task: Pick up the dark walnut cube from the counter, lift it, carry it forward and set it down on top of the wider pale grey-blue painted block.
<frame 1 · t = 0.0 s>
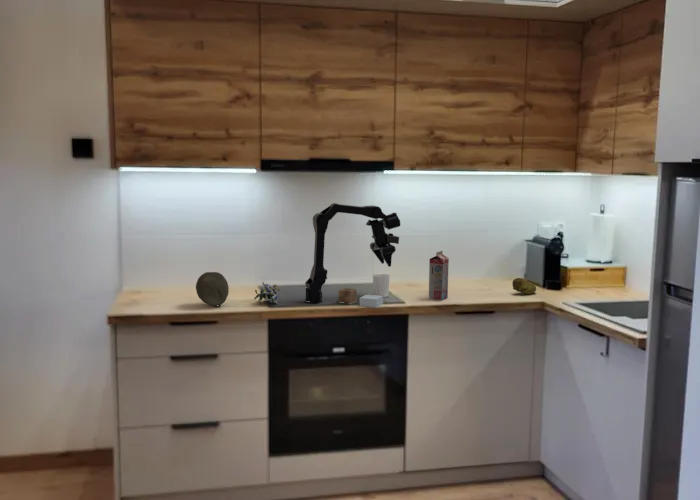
hand: (386, 264, 305), 15 cm above the countertop, tool pointing down, fingers open, 9 cm apart
walnut cube: (347, 302, 296), on the countertop
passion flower: (267, 304, 293), on the countertop
riser block: (371, 305, 291), on the countertop
white cup: (380, 296, 311), on the countertop
juice carton: (438, 299, 306), on the countertop
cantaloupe: (212, 306, 287), on the countertop
potato: (524, 294, 318), on the countertop
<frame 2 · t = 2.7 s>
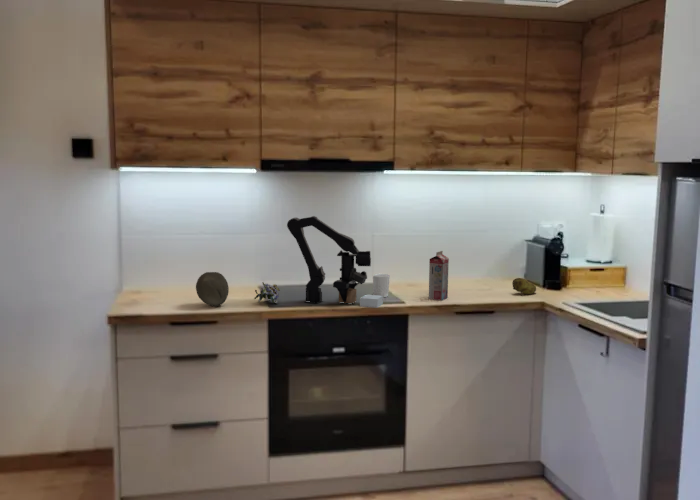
hand: (347, 300, 296), 1 cm above the countertop, tool pointing down, fingers closed on walnut cube, 6 cm apart
walnut cube: (347, 302, 296), on the countertop, touching gripper
everything else where it was.
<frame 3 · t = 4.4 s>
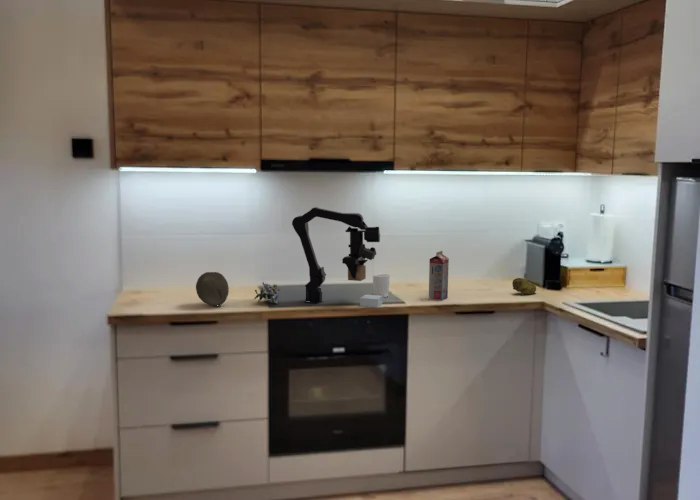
hand: (356, 277, 293), 12 cm above the countertop, tool pointing down, fingers closed on walnut cube, 6 cm apart
walnut cube: (356, 279, 293), point 11 cm above the countertop, touching gripper
everything else where it was.
when the fingers open (6 cm above the countertop, at t = 6.3 s): walnut cube drops 1 cm, resting on riser block.
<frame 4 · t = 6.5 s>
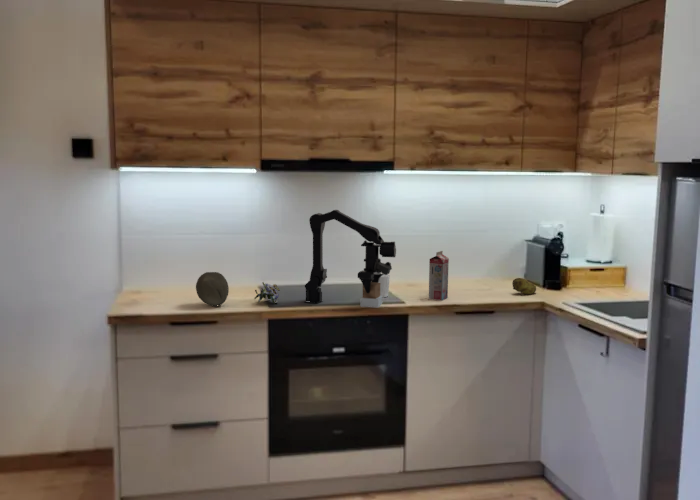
hand: (371, 291, 291), 6 cm above the countertop, tool pointing down, fingers open, 8 cm apart
walnut cube: (371, 296, 291), point 4 cm above the countertop, touching riser block
riser block: (371, 305, 291), on the countertop, touching walnut cube
everything else where it was.
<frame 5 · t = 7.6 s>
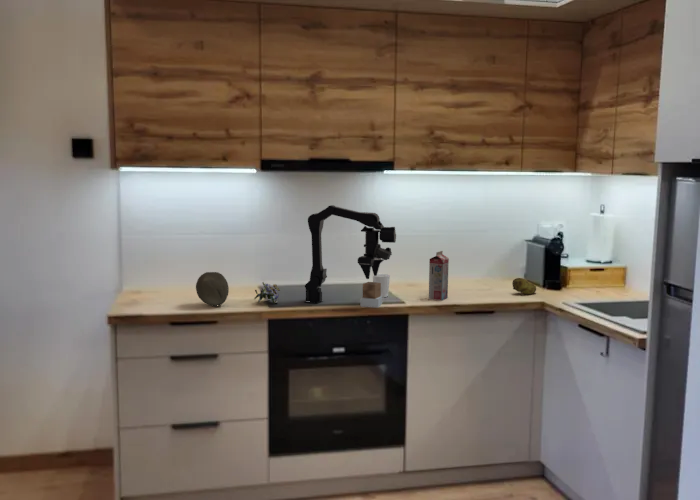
hand: (371, 277, 290), 12 cm above the countertop, tool pointing down, fingers open, 9 cm apart
walnut cube: (371, 296, 291), point 4 cm above the countertop
riser block: (371, 305, 291), on the countertop
everything else where it was.
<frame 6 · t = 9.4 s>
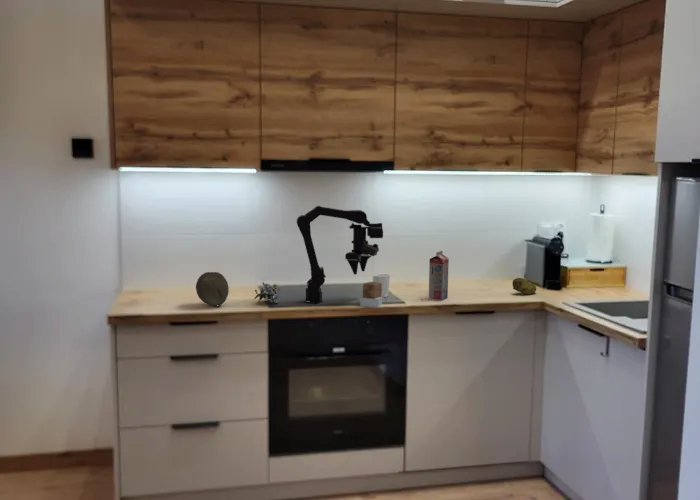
hand: (359, 272, 297), 13 cm above the countertop, tool pointing down, fingers open, 9 cm apart
nothing on the countertop moved.
at the end: walnut cube 0.2 cm off-centre on the riser block, point 4.0 cm above the riser block's base; walnut cube tilted 0°; the gripper is holding nothing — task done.
